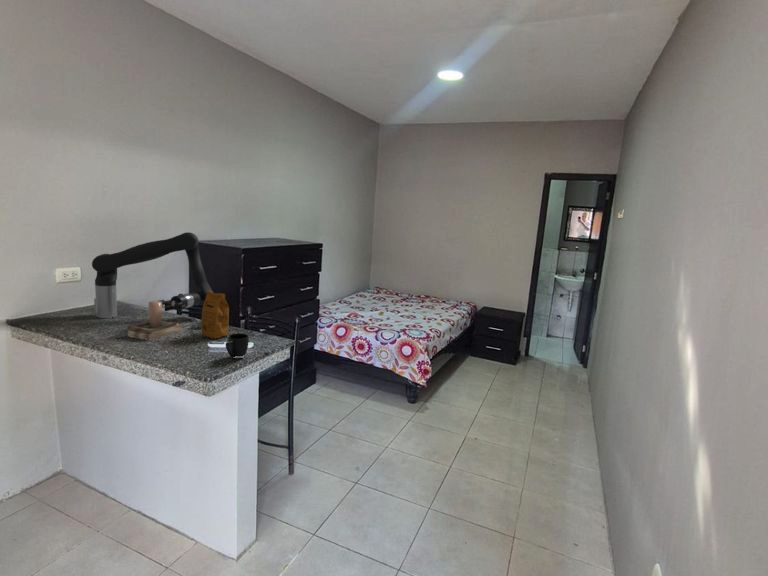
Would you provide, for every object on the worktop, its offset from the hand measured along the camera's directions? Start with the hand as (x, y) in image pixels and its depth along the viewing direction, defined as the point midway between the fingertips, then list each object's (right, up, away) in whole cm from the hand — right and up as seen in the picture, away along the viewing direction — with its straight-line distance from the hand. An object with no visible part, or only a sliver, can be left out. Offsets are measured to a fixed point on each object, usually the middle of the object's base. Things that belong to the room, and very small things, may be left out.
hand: (157, 307), depth 201 cm
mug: (+46, -21, -23) cm, 55 cm away
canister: (-1, -9, 0) cm, 9 cm away
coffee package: (+25, -14, +5) cm, 29 cm away
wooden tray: (-1, -12, +1) cm, 12 cm away
